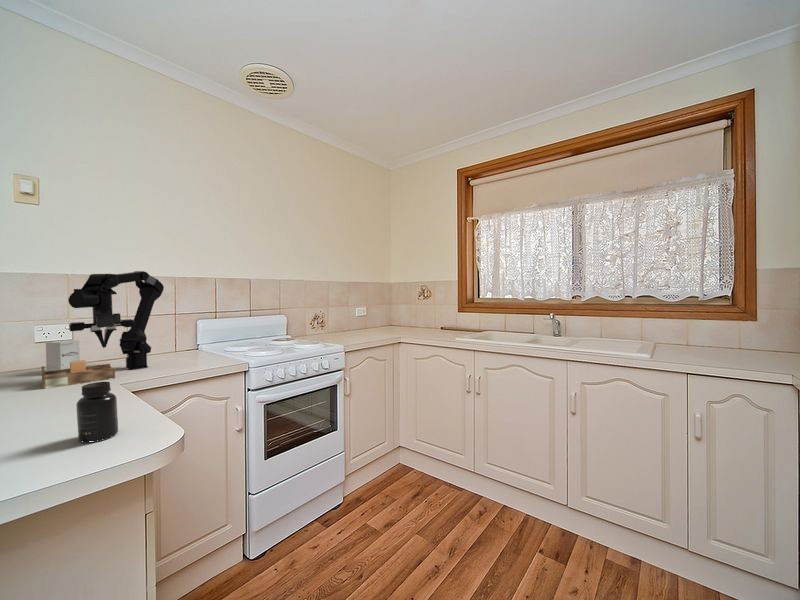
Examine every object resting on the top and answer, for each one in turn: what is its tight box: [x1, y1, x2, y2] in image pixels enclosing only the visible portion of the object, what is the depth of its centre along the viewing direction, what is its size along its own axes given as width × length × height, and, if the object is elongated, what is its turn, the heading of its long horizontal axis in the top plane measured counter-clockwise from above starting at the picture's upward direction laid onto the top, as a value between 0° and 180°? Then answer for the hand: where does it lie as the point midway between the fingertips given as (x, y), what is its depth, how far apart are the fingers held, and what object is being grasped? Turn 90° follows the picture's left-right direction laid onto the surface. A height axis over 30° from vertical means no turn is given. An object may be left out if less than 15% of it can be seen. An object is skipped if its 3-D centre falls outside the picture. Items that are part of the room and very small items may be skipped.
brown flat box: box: [41, 363, 116, 390], centre depth 128 cm, size 19×11×6 cm, turn 137°
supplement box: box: [45, 339, 81, 372], centre depth 143 cm, size 7×7×13 cm
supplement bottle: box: [76, 381, 119, 442], centre depth 78 cm, size 7×7×12 cm
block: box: [70, 360, 87, 373], centre depth 128 cm, size 4×4×4 cm
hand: (104, 347), depth 134 cm, fingers closed
